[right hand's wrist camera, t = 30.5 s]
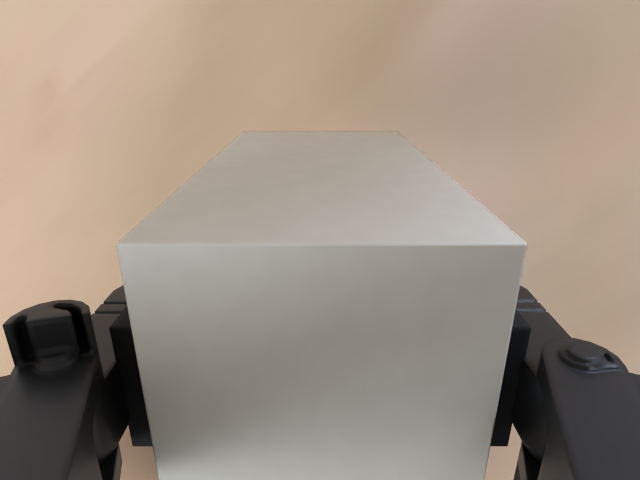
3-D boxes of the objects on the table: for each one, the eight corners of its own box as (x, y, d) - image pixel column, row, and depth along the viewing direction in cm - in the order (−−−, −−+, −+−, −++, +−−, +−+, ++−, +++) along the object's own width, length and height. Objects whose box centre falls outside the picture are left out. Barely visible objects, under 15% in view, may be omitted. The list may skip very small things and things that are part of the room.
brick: (242, 131, 17) (114, 243, 6) (398, 131, 17) (528, 243, 6) (252, 285, 19) (171, 552, 9) (389, 285, 19) (471, 552, 9)
